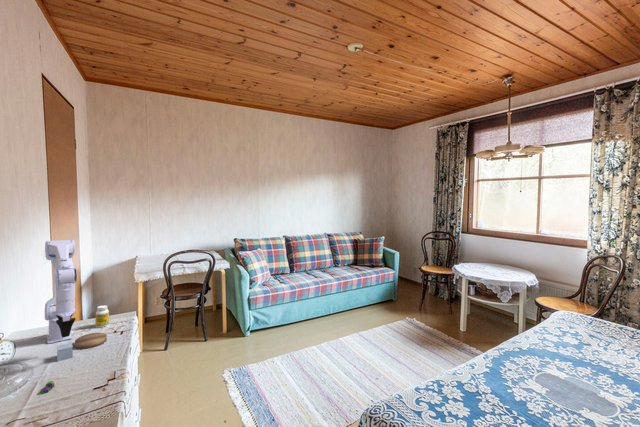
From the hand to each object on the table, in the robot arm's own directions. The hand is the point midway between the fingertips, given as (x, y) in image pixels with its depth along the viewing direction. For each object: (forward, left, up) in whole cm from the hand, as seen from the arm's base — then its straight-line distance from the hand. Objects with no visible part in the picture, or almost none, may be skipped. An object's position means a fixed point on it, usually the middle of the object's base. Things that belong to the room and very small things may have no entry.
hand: (65, 333), depth 116 cm
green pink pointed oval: (+22, -5, -11) cm, 25 cm away
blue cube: (0, 0, -10) cm, 10 cm away
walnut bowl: (-8, +9, -10) cm, 15 cm away
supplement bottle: (-26, +15, -10) cm, 32 cm away
